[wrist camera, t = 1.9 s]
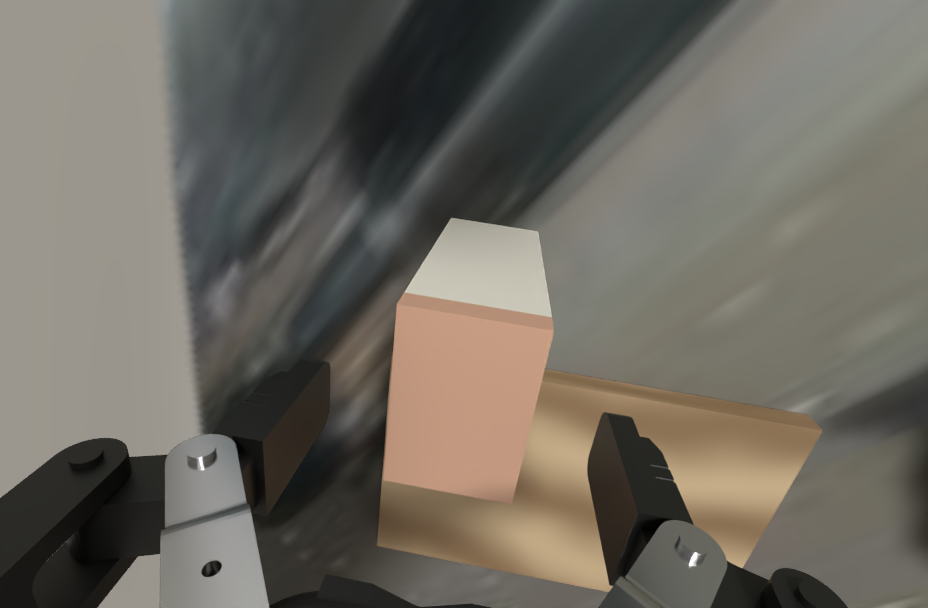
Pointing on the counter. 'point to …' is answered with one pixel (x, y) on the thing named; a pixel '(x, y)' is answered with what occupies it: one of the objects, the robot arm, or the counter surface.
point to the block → (469, 362)
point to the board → (568, 492)
